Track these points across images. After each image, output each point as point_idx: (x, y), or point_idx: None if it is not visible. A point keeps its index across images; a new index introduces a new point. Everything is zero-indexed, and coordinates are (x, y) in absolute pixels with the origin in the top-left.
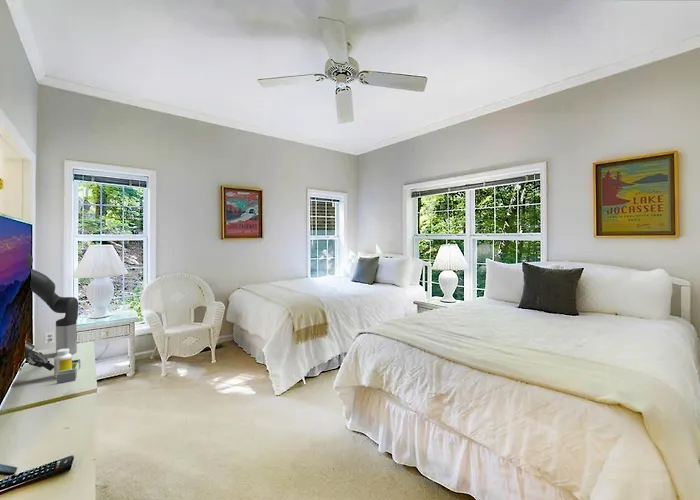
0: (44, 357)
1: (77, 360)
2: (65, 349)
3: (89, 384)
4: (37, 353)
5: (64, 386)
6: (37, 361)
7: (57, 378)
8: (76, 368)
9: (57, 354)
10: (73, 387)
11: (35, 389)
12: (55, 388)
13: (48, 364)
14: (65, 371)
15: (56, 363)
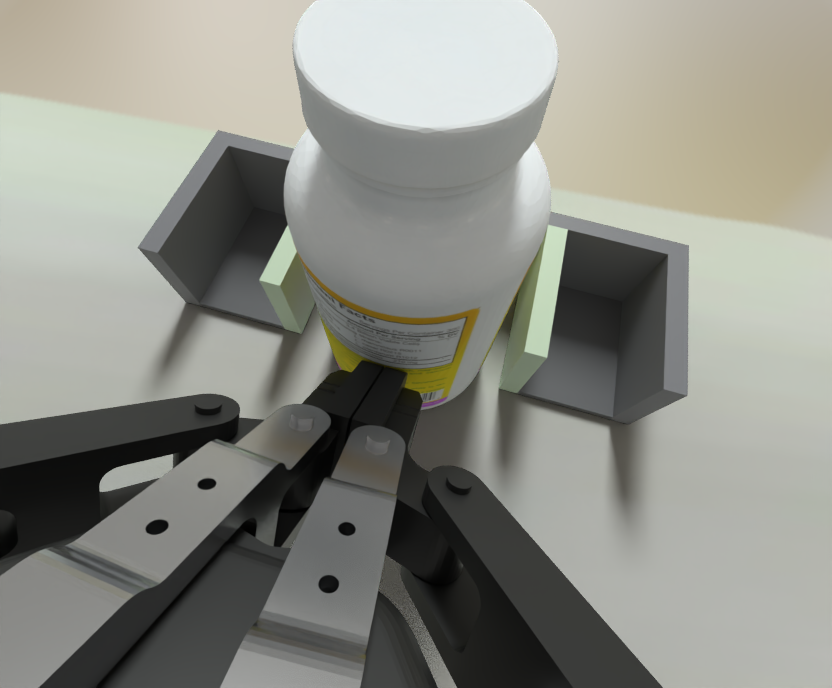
0: (154, 433)
1: (225, 155)
2: (419, 6)
3: (808, 245)
4: (87, 651)
5: (755, 389)
6: (629, 665)
7: (659, 405)
8: (553, 214)
9: (433, 199)
10: (824, 340)
11: (690, 633)
12: (772, 459)
13: (383, 421)
14: (552, 305)
15: (487, 323)
